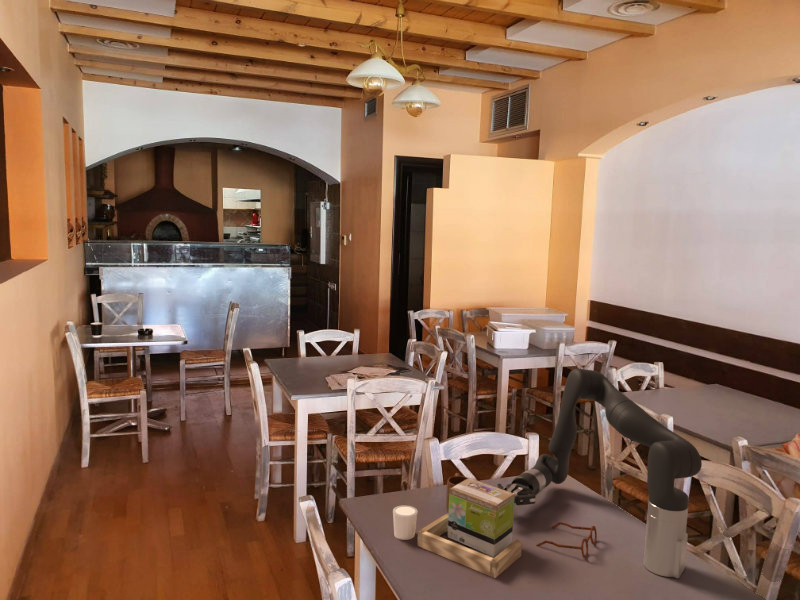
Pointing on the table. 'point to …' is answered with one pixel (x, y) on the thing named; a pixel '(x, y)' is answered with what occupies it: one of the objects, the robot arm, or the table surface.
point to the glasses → (582, 540)
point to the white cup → (404, 522)
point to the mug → (451, 483)
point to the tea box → (481, 516)
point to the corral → (466, 550)
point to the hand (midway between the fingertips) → (501, 503)
